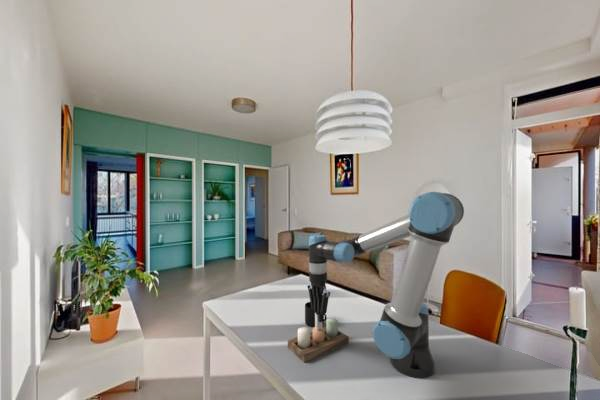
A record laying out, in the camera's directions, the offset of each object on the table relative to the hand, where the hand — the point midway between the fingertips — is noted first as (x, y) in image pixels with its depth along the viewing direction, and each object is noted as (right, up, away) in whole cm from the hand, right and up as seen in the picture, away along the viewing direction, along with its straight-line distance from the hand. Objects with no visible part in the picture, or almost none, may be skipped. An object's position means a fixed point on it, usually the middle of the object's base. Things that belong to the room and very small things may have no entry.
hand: (318, 328), depth 106 cm
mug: (0, -8, +19) cm, 21 cm away
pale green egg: (+6, -5, +4) cm, 9 cm away
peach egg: (0, -7, 0) cm, 7 cm away
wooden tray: (0, -7, 0) cm, 7 cm away
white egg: (-6, -5, -4) cm, 9 cm away
